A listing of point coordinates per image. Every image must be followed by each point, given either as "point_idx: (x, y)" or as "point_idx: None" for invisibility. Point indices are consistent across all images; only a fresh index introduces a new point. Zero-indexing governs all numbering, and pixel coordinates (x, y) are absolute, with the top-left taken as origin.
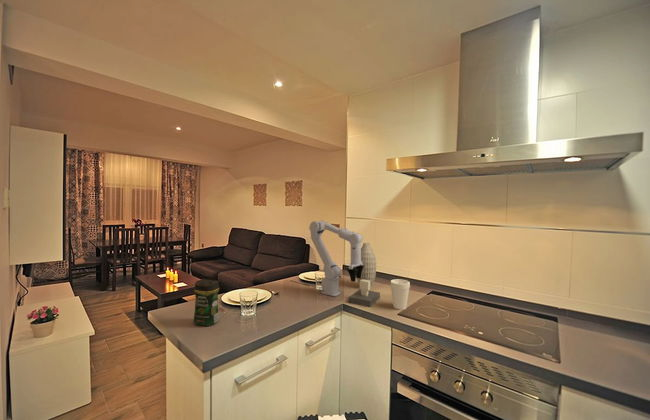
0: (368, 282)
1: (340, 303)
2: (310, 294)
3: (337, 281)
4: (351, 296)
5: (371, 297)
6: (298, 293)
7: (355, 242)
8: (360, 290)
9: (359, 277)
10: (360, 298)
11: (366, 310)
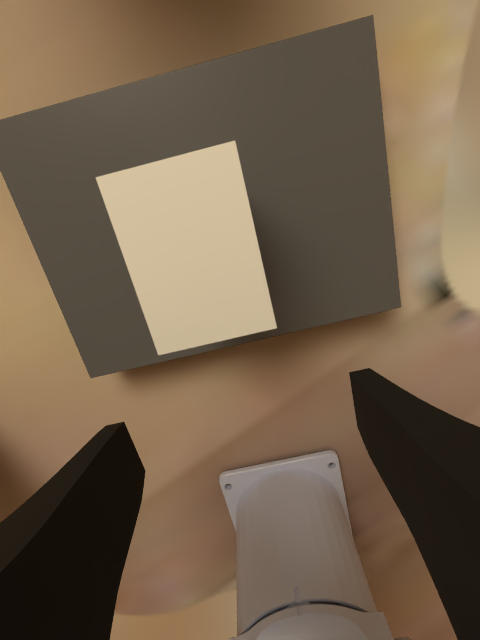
0: (214, 146)
1: (444, 325)
2: (411, 579)
3: (310, 578)
4: (371, 294)
5: (238, 92)
6: (444, 628)
7: None
8: (128, 346)
9: (123, 440)
10: (365, 178)
11: (465, 9)
